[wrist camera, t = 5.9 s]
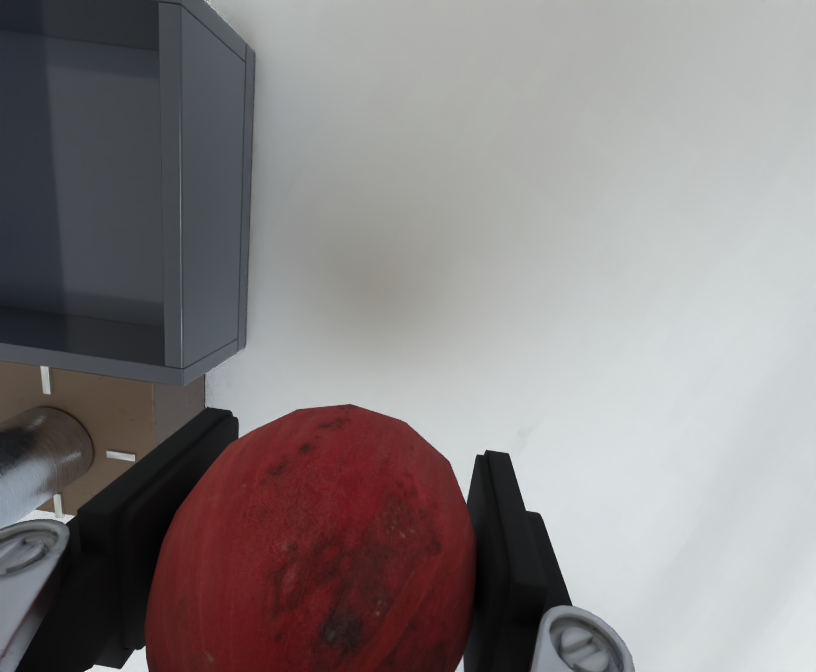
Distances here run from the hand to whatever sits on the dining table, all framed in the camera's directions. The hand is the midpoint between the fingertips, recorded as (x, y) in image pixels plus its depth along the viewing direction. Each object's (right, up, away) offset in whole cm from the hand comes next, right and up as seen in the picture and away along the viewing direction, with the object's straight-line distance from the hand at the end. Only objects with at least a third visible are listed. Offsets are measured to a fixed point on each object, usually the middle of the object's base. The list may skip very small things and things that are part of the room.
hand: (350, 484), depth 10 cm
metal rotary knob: (-16, -2, +10) cm, 19 cm away
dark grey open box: (-14, +11, +11) cm, 21 cm away
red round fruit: (0, 0, +2) cm, 2 cm away
